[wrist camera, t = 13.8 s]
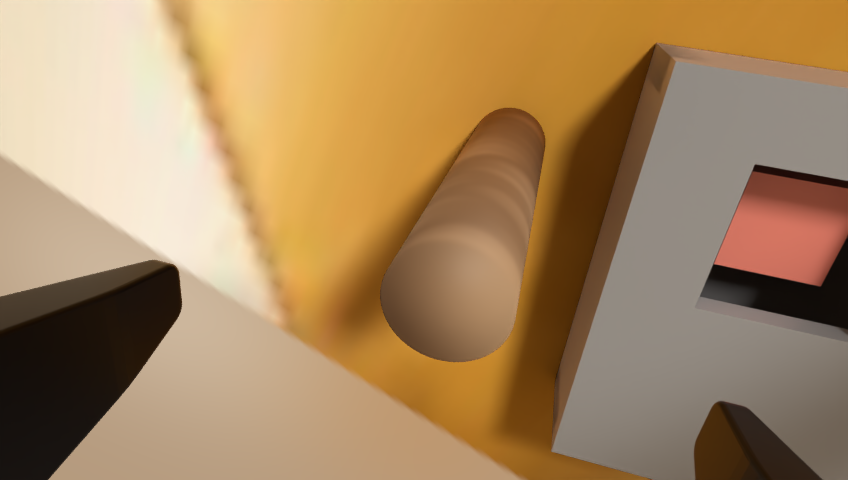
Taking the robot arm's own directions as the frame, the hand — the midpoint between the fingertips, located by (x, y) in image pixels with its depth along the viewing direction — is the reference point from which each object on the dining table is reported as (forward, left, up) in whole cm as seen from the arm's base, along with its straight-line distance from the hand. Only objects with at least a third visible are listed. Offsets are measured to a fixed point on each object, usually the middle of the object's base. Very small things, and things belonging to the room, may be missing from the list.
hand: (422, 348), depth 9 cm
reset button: (-9, +1, -12) cm, 15 cm away
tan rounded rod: (0, 0, -12) cm, 13 cm away
